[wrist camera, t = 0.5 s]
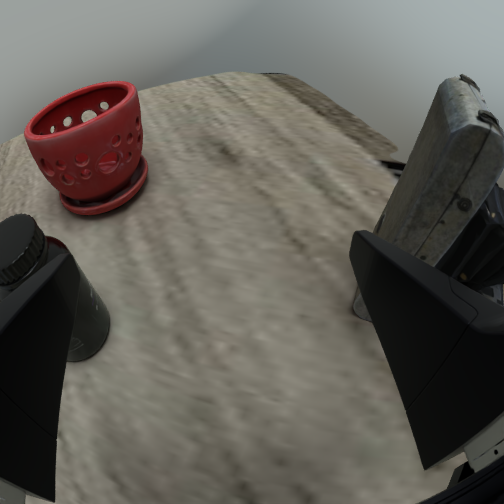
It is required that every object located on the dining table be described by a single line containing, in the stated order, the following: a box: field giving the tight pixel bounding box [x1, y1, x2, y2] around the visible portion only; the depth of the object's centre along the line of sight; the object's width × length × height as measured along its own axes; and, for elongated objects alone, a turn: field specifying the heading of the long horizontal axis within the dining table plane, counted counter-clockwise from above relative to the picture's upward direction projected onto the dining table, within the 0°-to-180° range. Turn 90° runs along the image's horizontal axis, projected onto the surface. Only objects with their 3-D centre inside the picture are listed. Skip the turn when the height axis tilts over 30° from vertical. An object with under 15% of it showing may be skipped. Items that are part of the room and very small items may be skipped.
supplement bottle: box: [0, 214, 109, 361], centre depth 20 cm, size 7×7×12 cm
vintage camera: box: [353, 74, 504, 322], centre depth 19 cm, size 10×16×20 cm, turn 65°
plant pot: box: [24, 81, 148, 215], centre depth 31 cm, size 13×13×12 cm
